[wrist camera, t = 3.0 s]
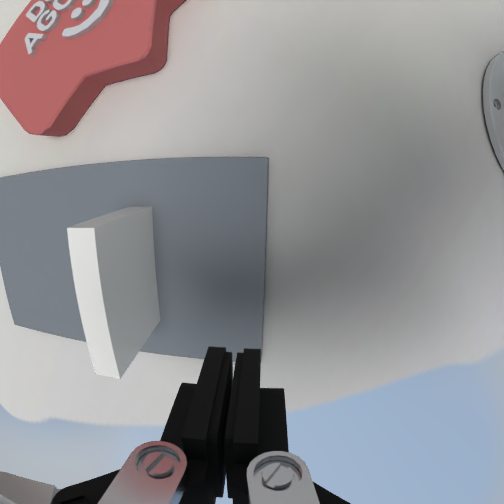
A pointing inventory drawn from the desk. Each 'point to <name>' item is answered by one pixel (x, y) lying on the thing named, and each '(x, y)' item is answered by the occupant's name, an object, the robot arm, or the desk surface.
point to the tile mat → (165, 246)
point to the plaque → (77, 56)
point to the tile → (115, 285)
